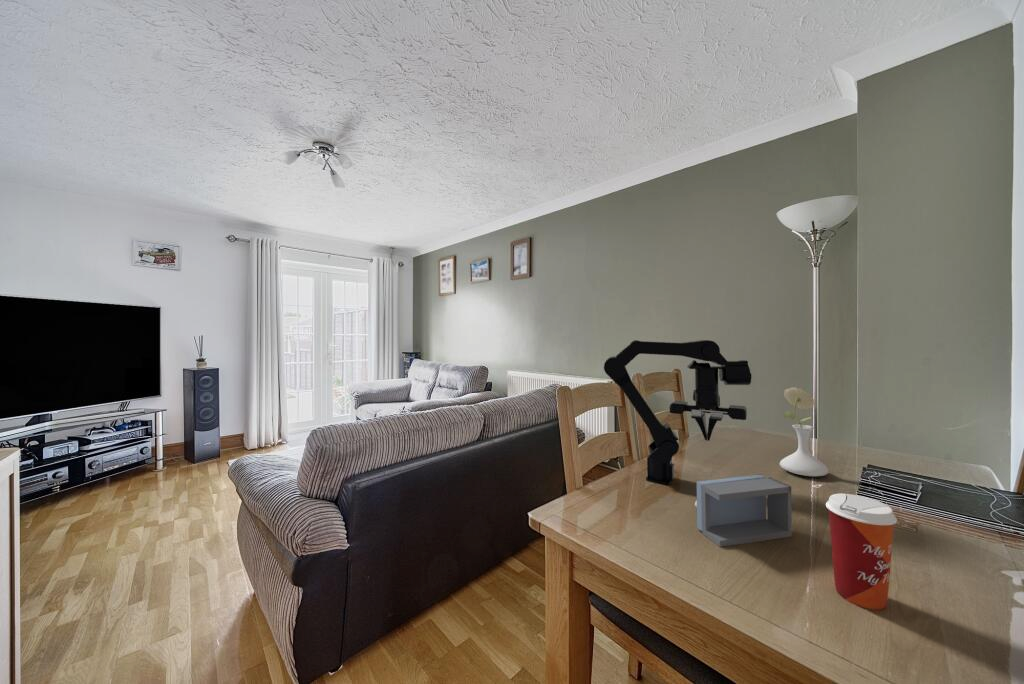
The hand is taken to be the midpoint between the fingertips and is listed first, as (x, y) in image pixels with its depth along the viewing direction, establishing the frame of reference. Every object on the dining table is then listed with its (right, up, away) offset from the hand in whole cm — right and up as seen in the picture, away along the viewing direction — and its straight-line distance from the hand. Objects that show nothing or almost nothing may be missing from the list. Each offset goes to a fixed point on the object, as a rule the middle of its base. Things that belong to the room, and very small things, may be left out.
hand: (707, 440), depth 104 cm
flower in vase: (+31, -11, +7) cm, 34 cm away
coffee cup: (+1, -13, -45) cm, 47 cm away
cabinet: (-6, -13, -27) cm, 30 cm away
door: (-7, -12, -23) cm, 26 cm away
